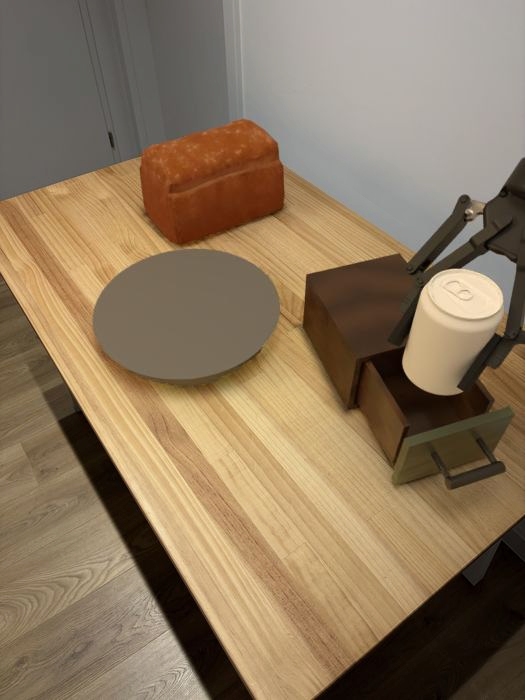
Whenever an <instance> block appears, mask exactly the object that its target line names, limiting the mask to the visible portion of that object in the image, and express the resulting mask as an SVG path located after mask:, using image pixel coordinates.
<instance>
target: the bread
mask: <svg viewBox="0 0 525 700" xmlns="http://www.w3.org/2000/svg"><path fill="white" fill-rule="evenodd" d="M140 155H141V156H140V157H141V158H140V165H139V168H138V170H139V177H140V187H141V195H142V201H143V206H144V209H145V212H146V214H147V216H148V218H150V220H151V221H152V223H153V224H154V225H155V226H156V227H157V228H158V230H159V231H160V232H161V233H162V234H163V236H165V237H166V238H167V239H168V241H170V242H172V243H174V244H176V245H184V244H187V243H191V242H195V241H198V240H201V239H204V238H206V237H209V236H212V235H214V234H217V233H218V234H219V233H220V232H223V231H226V230H229V229H231V228H235V227H236V226H239V225H242V224H243V223H245V222H248V221H251V220H255V219H258V218H261V217H263V216H267V215H269V214H272V213H275V212H276V211H278V210H281V209H282V208H283V207H284V201H285V196H286V195H285V194H286V193H285V173H284V172H285V171H284V164H283V163H282V161H281V159H280V148H279V143H278V142H277V141H276V140H275V139H274V137H272V136H271V135H270V134H269V133H268V132H267V131H266V130H265V129H264V128H263V127H261V126H260V125H259V124H257V123H256V122H254V121H253V120H250V119H247V118H241V119H236V120H233V121H231V122H229V123H227V124H226V125H222V126H216V127H212V128H210V129H209V128H208V129H207V130H202V131H199V132H193V133H189V134H187V135H185V136H182V137H179V138H177V139H174V140H169V141H164V142H159V143H155V144H153V145H150V146H148V147H147V148H145V149H144V150H143V151H142V152H141V154H140Z"/></svg>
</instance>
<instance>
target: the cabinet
mask: <svg viewBox="0 0 525 700" xmlns="http://www.w3.org/2000/svg"><path fill="white" fill-rule="evenodd" d="M407 263H408V261H407V260H406V259H405V258H404V257H403V255H402V254H401V253H400V252H397V253H393V254H389V255H384V256H381V257H376V258H371V259H366V260H362V261H359V262H353V263H349V264H345V265H340V266H337V267H331V268H328V269H323V270H319V271H315V272H311V273H307V274H305V286H304V287H305V288H304V299H303V300H304V303H303V316H302V328H303V330H304V332H305V334H306V336H307V338H308V340H309V342H310V344H311V346H312V347H313V349H314V351H315V353H316V355H317V357H318V359H319V361H320V363H321V365H322V366H323V369H324V370H325V372H326V374H327V375H328V378H329V379H330V381H331V383H332V385H333V387H334V390H335V391H336V393H337V394H338V396H339V398H340V400H341V402H342V403H343V406H344V408H345V409H346V411H350V410H353V409H356V408H360V406H359V404H358V402H357V401H356V399H355V394H356V389H357V384H358V379H359V374H360V369H361V364H362V362H364V361H367V360H371V359H375V358H379V357H382V356H386V355H390V354H393V353H397V352H401V351H405V348H406V345H407V341H408V337H409V334H410V333H409V334H408V336H407V337H406V338H405V340H404V341H403V343H402V344H401V346H400V347H399V346H396V345H393V344H391V343H390V342H388V341H387V339H388V338H389V336H390V335H391V333H392V332H393V330H394V329H395V327H396V326H397V324H398V323H399V321H400V320H401V318H402V317H403V315H404V313H402V312H400V311H399V307H400V305H401V303H402V302H403V300H404V299H405V297H406V295H407V294H408V292H409V291H410V289H411V288H412V286H413V280H412V279H411V277H410V276H409V275H408V273H406V271H405V266H406V264H407Z"/></svg>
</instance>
